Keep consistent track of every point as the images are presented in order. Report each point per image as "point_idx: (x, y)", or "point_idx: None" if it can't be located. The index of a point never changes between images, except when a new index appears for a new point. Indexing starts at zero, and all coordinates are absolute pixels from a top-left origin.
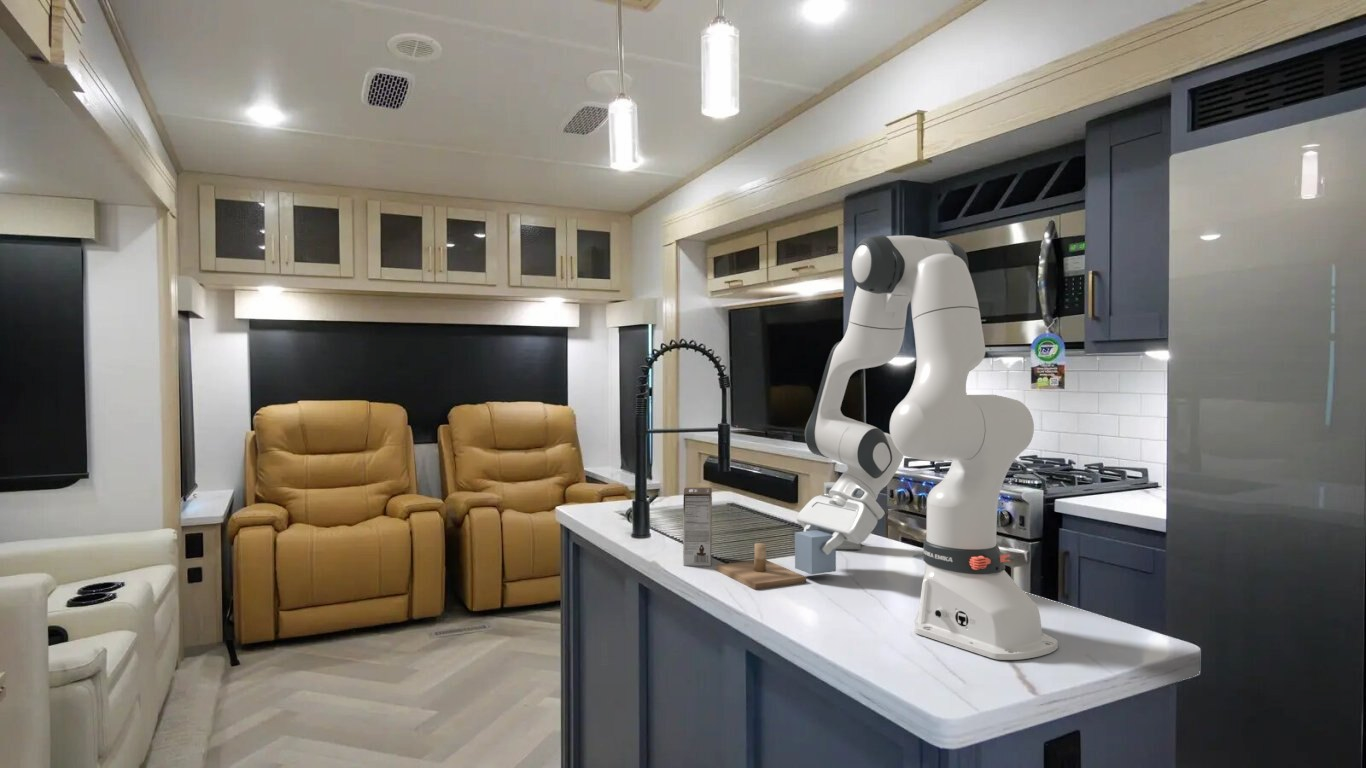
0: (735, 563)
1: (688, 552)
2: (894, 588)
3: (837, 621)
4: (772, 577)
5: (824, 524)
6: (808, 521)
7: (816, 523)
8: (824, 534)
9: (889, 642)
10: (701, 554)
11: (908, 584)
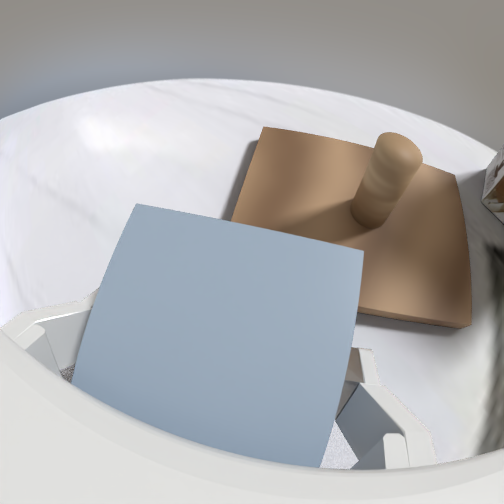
0: (457, 216)
1: (499, 154)
2: None
3: (56, 152)
4: (281, 185)
5: (105, 426)
6: (432, 472)
7: (274, 472)
8: (121, 372)
9: (7, 162)
10: (496, 172)
11: None
